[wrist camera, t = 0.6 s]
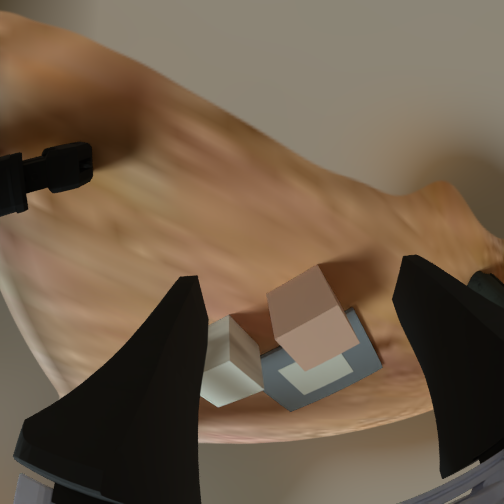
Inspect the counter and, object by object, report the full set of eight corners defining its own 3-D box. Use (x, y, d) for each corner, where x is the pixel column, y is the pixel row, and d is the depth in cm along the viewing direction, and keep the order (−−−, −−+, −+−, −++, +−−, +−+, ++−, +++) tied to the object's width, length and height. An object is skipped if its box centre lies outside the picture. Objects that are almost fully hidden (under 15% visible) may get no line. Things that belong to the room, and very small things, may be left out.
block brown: (293, 327, 24) (305, 371, 19) (265, 293, 22) (274, 339, 17) (339, 301, 23) (359, 342, 18) (316, 263, 21) (337, 304, 17)
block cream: (218, 363, 25) (218, 407, 21) (186, 336, 23) (180, 381, 19) (258, 344, 24) (264, 389, 20) (228, 314, 23) (229, 360, 18)
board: (289, 409, 30) (290, 412, 30) (236, 366, 26) (237, 370, 25) (381, 364, 28) (383, 367, 27) (352, 307, 23) (354, 310, 23)
